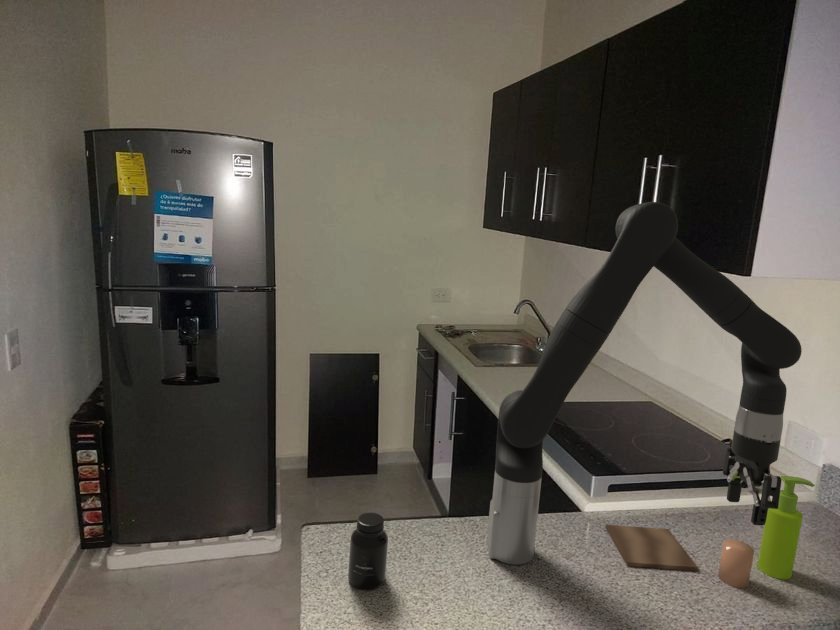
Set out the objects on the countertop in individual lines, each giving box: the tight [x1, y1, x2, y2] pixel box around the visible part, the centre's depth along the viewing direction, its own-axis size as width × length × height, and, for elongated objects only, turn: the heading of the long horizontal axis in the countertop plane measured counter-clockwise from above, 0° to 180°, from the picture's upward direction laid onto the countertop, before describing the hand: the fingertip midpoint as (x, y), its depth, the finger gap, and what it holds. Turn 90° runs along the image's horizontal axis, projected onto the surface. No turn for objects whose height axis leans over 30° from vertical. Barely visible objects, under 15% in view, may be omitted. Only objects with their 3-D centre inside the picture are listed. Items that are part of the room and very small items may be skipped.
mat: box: [605, 524, 699, 572], centre depth 116 cm, size 14×14×1 cm
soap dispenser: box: [757, 475, 816, 580], centre depth 109 cm, size 6×7×20 cm
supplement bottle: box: [347, 512, 389, 591], centre depth 99 cm, size 7×7×12 cm
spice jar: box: [717, 538, 755, 589], centre depth 107 cm, size 5×5×7 cm
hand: (744, 512), depth 105 cm, fingers open, 8 cm apart
